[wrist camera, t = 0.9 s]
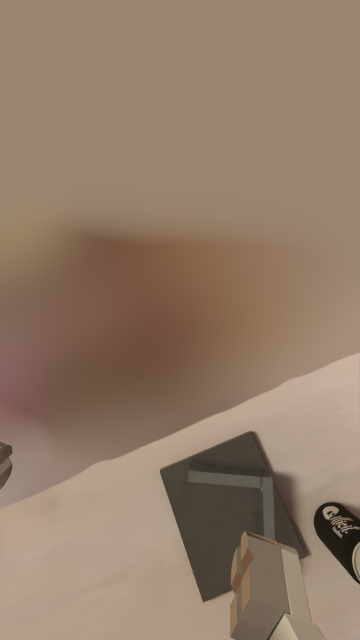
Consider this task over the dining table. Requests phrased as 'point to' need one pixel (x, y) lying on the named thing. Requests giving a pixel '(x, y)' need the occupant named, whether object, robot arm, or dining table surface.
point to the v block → (224, 508)
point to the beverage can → (340, 535)
